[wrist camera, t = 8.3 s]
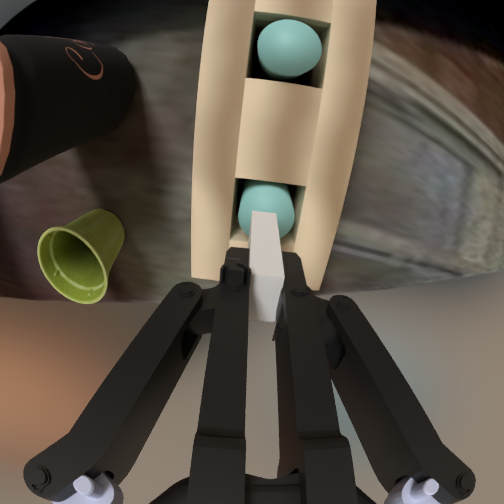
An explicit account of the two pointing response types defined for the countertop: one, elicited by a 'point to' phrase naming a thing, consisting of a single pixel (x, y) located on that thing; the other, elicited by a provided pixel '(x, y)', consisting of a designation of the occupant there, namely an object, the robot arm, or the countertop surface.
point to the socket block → (277, 126)
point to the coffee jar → (57, 97)
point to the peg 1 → (288, 49)
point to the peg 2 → (266, 204)
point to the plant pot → (81, 255)
